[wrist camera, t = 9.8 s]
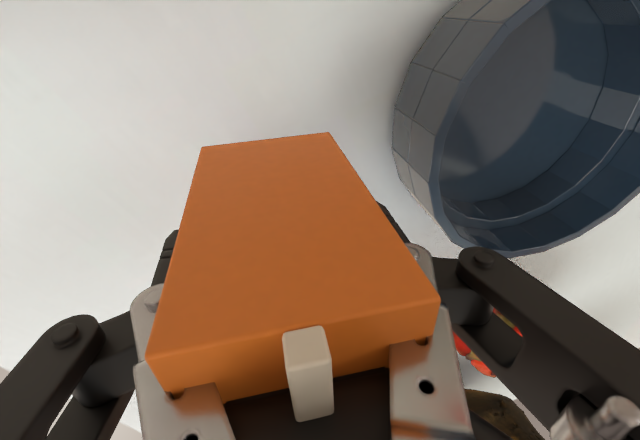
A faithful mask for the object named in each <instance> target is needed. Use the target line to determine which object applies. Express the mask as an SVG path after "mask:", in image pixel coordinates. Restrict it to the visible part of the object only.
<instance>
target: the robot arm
mask: <svg viewBox="0 0 640 440" xmlns="http://www.w3.org/2000/svg"><path fill="white" fill-rule="evenodd" d="M376 202H377V201H376ZM377 204H378V205H379V207H380V208H381V210H382V211H383V213H384V214H385V216H386V217H387V219H388V220H389V222H390V223H391V225H392V226H393V228H394V229H395V230H396V232H397V233H398V235H399V236H400V238H401V239H402V241H403V242H404V244H405V245H406V247H407V248H408V250H409V251H410V253H411V254H412V256H413V257H414V259H415V260H416V262H417V263H418V265H419V266H420V268H421V269H422V270H423V272H424V273H425V275H426V276H427V278H428V279H429V281H430V282H431V284H432V285H433V287H434V288H435V290H436V291H437V293H438V294H439V296H440V299H441V303H440V307H439V311H438V316H437V320H436V324H435V328H434V333H433V334H432V335H431V336H427V337H426V340H425V345H424V346H421V345H418V344H417V343H416V342H415V339H413V340H409V341H404V342H399V343H395V344H390V345H389V352H388V368H385V367H380V368H375V369H371V370H366V371H362V372H357V373H353V374H348V375H344V376H339V377H335V378H333V396H334V413H333V414H331V415H328V416H324V417H320V418H316V419H312V420H307V421H303V422H297V421H296V419H295V415H294V410H293V405H292V400H291V395H290V389H289V388H285V389H281V390H276V391H272V392H267V393H263V394H258V395H254V396H249V397H245V398H240V399H236V400H231V401H227V402H226V403H225V404H223V401H222V398H221V396H220V394H219V391H218V389H217V386H216V384H215V382H212V383H207V384H202V385H198V386H193V387H188V388H184V389H185V391H184V394H183V395H182V396H181V397H180V398H179V399H177V400H175V398H174V397H173V395H172V393H171V392H170V391H169V392H166V391H164V390H163V388H162V387H161V385H160V383H159V382H158V380H157V379H156V377H155V375H154V374H153V372H152V370H151V369H150V367H149V365H148V364H147V362H146V360H145V351H146V348H147V344H148V340H149V337H150V333H151V330H152V326H153V322H154V319H155V315H156V311H157V308H158V304H159V300H160V297H161V293H162V289H163V286H164V282H165V279H166V275H167V271H168V268H169V264H170V260H171V257H172V253H173V249H174V246H175V242H176V238H177V235H178V231H179V230H174V231H173V232H172V233H171V234H170V235H169V237H168V238H167V239H166V240H165V243H164V246H163V249H162V250H163V251H162V253H161V256H160V260H159V262H158V265H157V268H156V271H155V275H154V278H153V281H152V284H151V287H149V288H147V289H146V290H144V291H143V292H141V293H140V294H139V295H138V296H137V297H136V298H135V299H134V300H133V302H132V304H131V306H130V311H128V312H126V313H124V314H122V315H119V316H117V317H114V318H112V319H109V320H107V321H104V322H102V323H98V322H97V320H96V319H95V318H94V317H93V316H90V315H76V316H72V317H69V318H67V319H64V320H62V321H60V322H58V323H57V324H55V325H54V326H52V327H51V328H49V329H48V330H47V331H46V332H45V333H44V334H43V335H42V336H41V337H40V338H39V339H38V341H37V342H36V343H35V344H34V345H33V346H32V348H31V349H30V350H29V351H28V352H27V353H26V355H25V356H24V357H23V358H22V359H21V360H20V362H19V363H18V364H17V365H16V366H15V367H14V369H13V370H12V371H11V372H10V373H9V375H8V376H7V377H6V378H5V379H4V380H3V381H2V383H1V384H0V440H110V438H111V436H112V434H113V432H114V430H115V428H116V426H117V424H118V422H119V420H120V418H121V416H122V414H123V412H124V410H125V409H126V407H127V405H128V403H129V401H130V399H131V397H132V395H133V392H134V390H136V396H137V403H138V410H139V416H140V423H141V430H142V436H143V440H514V439H512V438H511V437H509V436H508V435H507V434H505V433H504V432H502V431H501V430H499V429H498V428H496V427H495V426H493V425H492V424H491V423H489V422H488V421H486V420H485V419H483V418H482V417H480V416H479V415H477V414H476V413H475V412H473V411H472V410H470V409H469V408H468V405H467V400H466V395H465V390H464V386H463V381H462V376H461V371H460V366H459V361H458V356H457V351H456V346H455V341H454V336H453V332H454V333H455V334H456V335H457V336H458V337H459V338H460V339H461V340H462V341H463V342H464V343H465V344H466V345H467V346H468V347H469V348H470V349H471V350H472V352H473V353H474V354H475V355H476V356H477V357H478V358H479V359H480V360H481V361H482V362H483V363H484V364H485V365H486V366H487V367H488V368H489V369H490V370H491V371H492V372H493V373H494V374H495V375H496V377H497V378H498V379H499V380H500V381H501V382H502V383H503V384H504V385H505V386H506V387H507V388H508V389H509V390H510V391H511V392H512V393H513V394H514V395H515V396H516V397H517V398H518V399H519V401H520V402H522V404H523V405H524V406H525V407H526V408H527V409H528V410H529V411H530V412H531V413H532V414H533V415H534V416H535V417H536V418H537V419H538V420H539V421H540V422H541V423H542V424H543V426H544V427H546V429H547V430H548V431H549V432H550V440H640V350H639V349H637V348H636V347H634V346H633V345H631V344H630V343H629V342H627V341H626V340H624V339H623V338H621V337H620V336H618V335H617V334H616V333H614V332H613V331H611V330H610V329H608V328H607V327H605V326H604V325H602V324H601V323H600V322H598V321H597V320H595V319H594V318H592V317H591V316H589V315H588V314H586V313H585V312H584V311H582V310H581V309H579V308H578V307H576V306H575V305H573V304H572V303H571V302H569V301H568V300H566V299H565V298H563V297H562V296H560V295H559V294H557V293H556V292H555V291H553V290H552V289H550V288H549V287H547V286H546V285H544V284H543V283H541V282H540V281H539V280H537V279H536V278H534V277H533V276H531V275H530V274H528V273H527V272H526V271H524V270H523V269H521V268H520V267H518V266H517V265H515V264H514V263H512V262H511V261H510V260H508V259H507V258H505V257H504V256H502V255H501V254H499V253H498V252H496V251H494V250H491V249H489V248H485V247H478V246H474V247H468V248H465V249H463V250H462V251H461V252H460V254H459V257H458V259H448V258H436V257H432V256H431V254H430V253H429V252H428V250H426V249H425V248H424V247H422V246H420V245H417V244H413V243H410V241H409V240H408V238H407V237H406V236H405V234H404V233H403V231H402V230H401V228H400V227H399V226H398V224H397V223H396V222H395V220H394V218H393V217H392V216H391V214H390V213H389V211H388V210H387V208H386V207H385V206H383V205H382V204H380V203H378V202H377ZM494 308H495V309H496V310H497V311H499V312H500V313H501V314H502V315H503V316H504V317H506V318H507V319H508V320H509V321H510V322H511V323H513V324H514V325H515V326H516V327H517V328H518V329H519V331H520V333H521V335H522V337H521V336H520V335H519V334H518V333H517V332H516V331H515V330H513V329H512V328H511V327H510V326H509V325H508V324H506V323H505V322H504V321H503V320H502V319H501V318H500V317H498V316H497V315H496V314H495V313H494V312H493V309H494ZM71 394H72V395H73V398H72V399H71V401H70V402H69V404H68V405H67V407H66V408H65V410H64V412H63V413H62V414H61V416H60V418H59V419H58V421H57V422H56V424H55V425H54V427H53V428H52V430H51V431H50V433H49V435H48V436H47V434H48V431H49V428H50V426H51V425H52V423H53V422H54V420H55V419H56V417H57V415H58V414H59V412H60V411H61V409H62V408H63V406H64V405H65V403H66V402H67V400H68V399H69V397H70V396H71Z"/></svg>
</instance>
